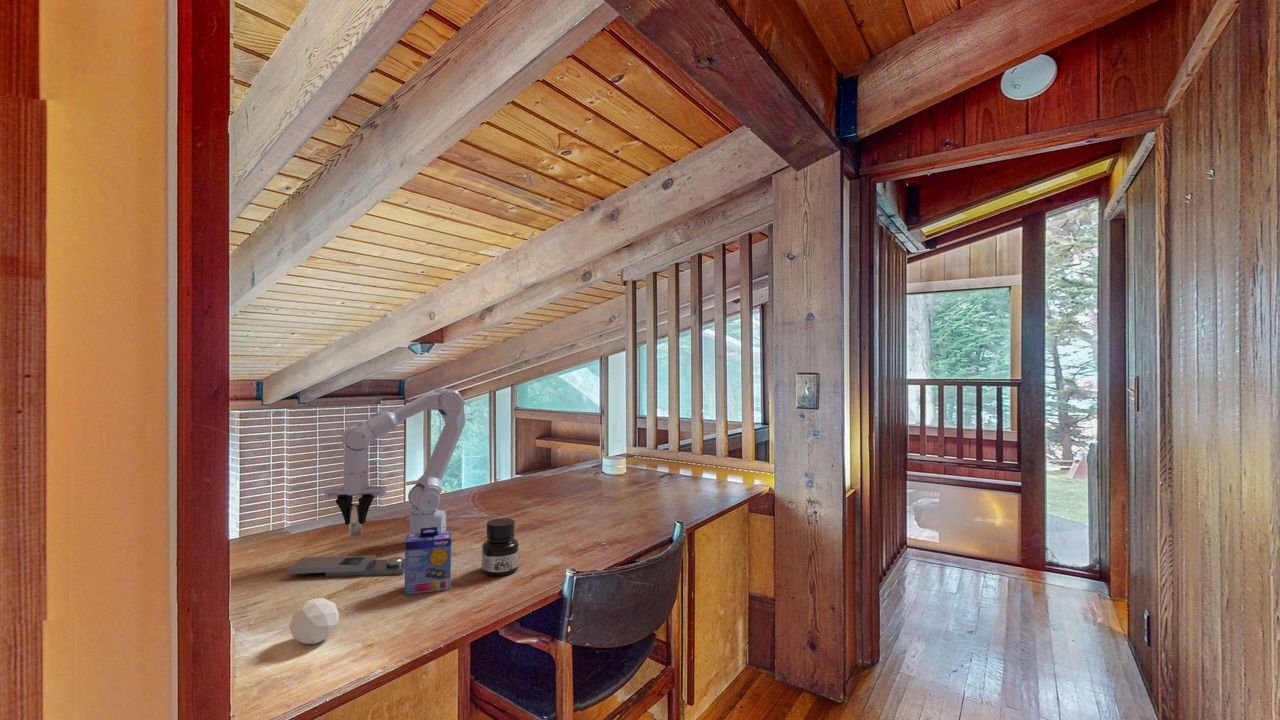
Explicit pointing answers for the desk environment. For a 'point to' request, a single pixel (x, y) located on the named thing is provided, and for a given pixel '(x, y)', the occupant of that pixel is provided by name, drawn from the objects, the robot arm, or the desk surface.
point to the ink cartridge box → (427, 561)
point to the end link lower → (375, 568)
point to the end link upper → (331, 564)
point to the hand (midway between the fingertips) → (355, 523)
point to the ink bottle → (500, 548)
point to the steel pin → (354, 520)
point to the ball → (314, 621)
